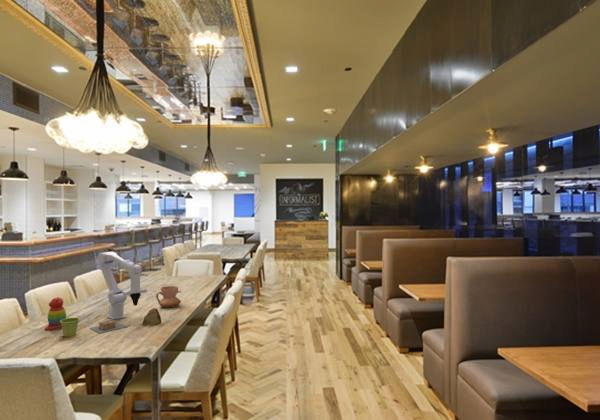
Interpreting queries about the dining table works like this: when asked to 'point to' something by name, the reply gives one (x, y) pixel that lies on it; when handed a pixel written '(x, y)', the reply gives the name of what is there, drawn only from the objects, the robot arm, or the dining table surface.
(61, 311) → the stacking bear
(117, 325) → the rubber mat
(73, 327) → the plant pot
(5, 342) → the dining table surface
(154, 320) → the rock
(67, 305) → the dining table surface
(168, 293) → the ceramic jug
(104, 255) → the robot arm
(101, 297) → the dining table surface
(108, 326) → the walnut block
